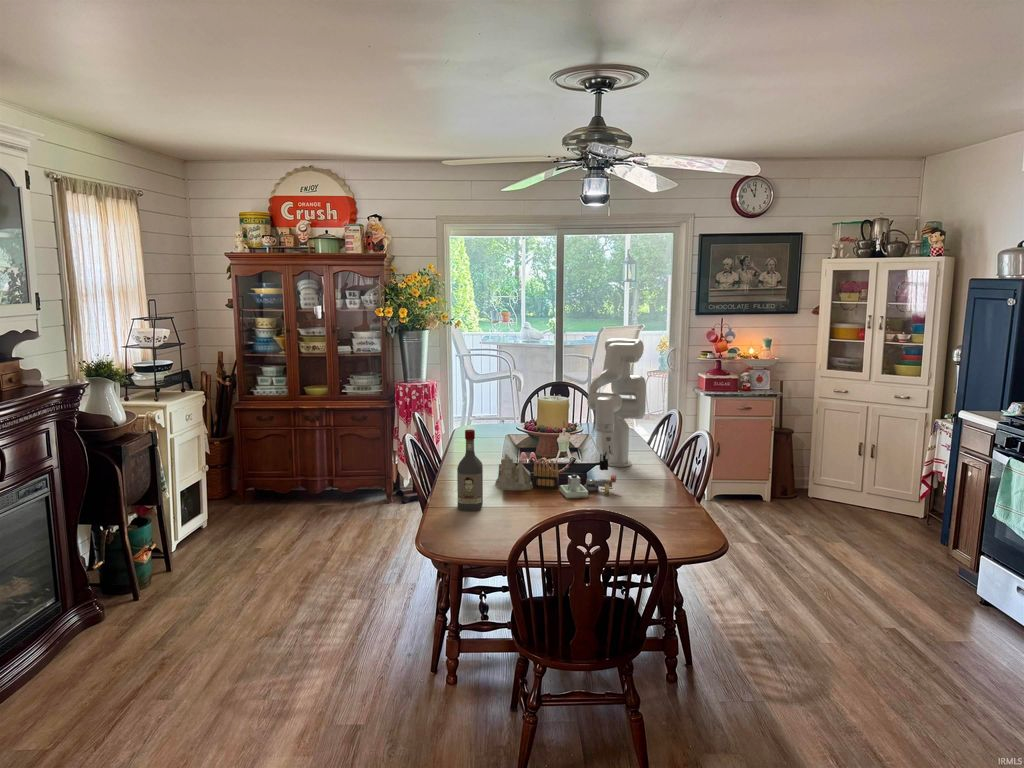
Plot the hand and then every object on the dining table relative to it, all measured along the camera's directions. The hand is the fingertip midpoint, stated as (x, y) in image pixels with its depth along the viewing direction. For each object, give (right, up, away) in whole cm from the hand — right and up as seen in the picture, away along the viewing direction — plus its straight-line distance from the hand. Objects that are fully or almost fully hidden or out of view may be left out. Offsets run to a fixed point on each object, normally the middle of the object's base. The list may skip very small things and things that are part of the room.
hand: (603, 469), depth 283 cm
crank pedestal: (-1, -9, -4) cm, 10 cm away
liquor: (-54, -12, -23) cm, 60 cm away
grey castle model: (-37, -8, +6) cm, 38 cm away
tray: (-13, -9, -7) cm, 17 cm away
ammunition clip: (-24, -8, +2) cm, 25 cm away
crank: (-2, -6, -3) cm, 7 cm away
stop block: (-13, -9, -7) cm, 17 cm away
